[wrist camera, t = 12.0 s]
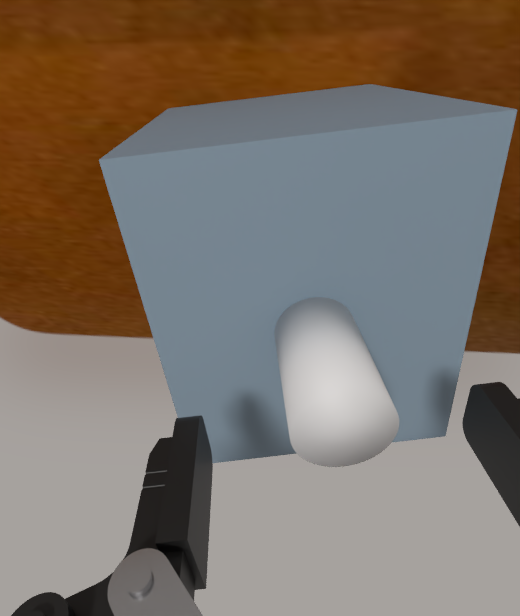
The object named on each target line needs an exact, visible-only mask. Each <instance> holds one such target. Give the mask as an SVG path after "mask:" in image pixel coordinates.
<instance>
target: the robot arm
mask: <svg viewBox="0 0 520 616" xmlns="http://www.w3.org/2000/svg"><path fill="white" fill-rule="evenodd" d="M463 430H464V434H465V437H466V439H467V441H468V443H469V444H470V446H471V448H472V449H473V451H474V453H475V454H476V456H477V458H478V459H479V461H480V462H481V464H482V466H483V467H484V469H485V471H486V472H487V474H488V476H489V477H490V479H491V480H492V482H493V484H494V485H495V487H496V488H497V490H498V492H499V493H500V495H501V497H502V498H503V500H504V502H505V503H506V505H507V507H508V508H509V510H510V511H511V513H512V515H513V516H514V518H515V520H516V521H517V523H518V525H519V526H520V399H517V398H516V397H515V396H514V395H513V393H512V392H511V391H510V390H509V388H508V387H507V386H506V385H505V384H503V383H501V382H495V383H487V384H478V385H473V386H472V387H471V389H470V393H469V397H468V401H467V405H466V409H465V413H464V417H463ZM211 487H212V452H211V447H210V443H209V439H208V435H207V431H206V427H205V424H204V420H203V417H202V415H199V416H191V417H182V418H177V419H176V421H175V426H174V432H173V437H170V438H161V439H159V441H158V442H157V444H156V445H155V447H154V448H153V450H152V451H151V453H150V455H149V459H148V464H147V468H146V475H145V477H144V482H143V490H142V491H141V496H140V500H139V505H138V510H137V514H136V519H135V523H134V528H133V533H132V537H131V542H130V546H129V549H128V552H127V554H126V556H125V558H124V559H123V560H122V561H121V563H120V564H119V565H118V566H117V568H116V569H115V571H114V572H113V573H112V574H111V575H110V576H108V577H107V578H106V579H104V580H103V581H101V582H99V583H97V584H96V585H94V586H91V587H89V588H87V589H85V590H83V591H81V592H79V593H77V594H74V595H72V596H70V597H68V598H66V599H64V598H63V597H61V596H60V595H59V594H56V593H52V592H48V593H42V594H39V595H36V596H34V597H32V598H31V599H29V600H27V601H26V602H25V603H24V604H22V605H21V606H20V607H19V608H18V609H17V610H16V611H15V612H14V613H13V614H12V615H11V616H202V614H201V612H200V611H199V609H198V607H197V606H196V604H195V603H194V591H195V590H197V589H205V588H206V578H207V560H208V559H207V558H208V541H209V523H210V505H211Z"/></svg>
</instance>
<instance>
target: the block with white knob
mask: <svg viewBox="0 0 520 616" xmlns="http://www.w3.org/2000/svg"><path fill="white" fill-rule="evenodd" d="M516 113H517V109H512V108H506V107H501V106H495V105H489V104H483V103H477V102H471V101H466V100H460V99H454V98H448V97H442V96H436V95H431V94H425V93H419V92H413V91H407V90H402V89H396V88H390V87H384V86H378V85H372V84H367V85H359V86H350V87H342V88H334V89H326V90H317V91H309V92H301V93H293V94H284V95H276V96H268V97H260V98H252V99H243V100H235V101H227V102H219V103H210V104H202V105H194V106H186V107H177V108H169V109H167V110H166V111H164V112H163V113H162V114H160V115H159V116H158V117H156V118H155V119H154V120H152V121H151V122H150V123H148V124H147V125H145V126H144V127H143V128H141V129H140V130H139V131H137V132H136V133H135V134H133V135H132V136H131V137H129V138H128V139H126V140H125V141H124V142H122V143H121V144H120V145H118V146H117V147H116V148H114V149H113V150H112V151H110V152H109V153H108V154H106V155H105V156H103V157H102V158H101V159H99V162H100V165H101V169H102V172H103V175H104V178H105V182H106V185H107V188H108V191H109V195H110V198H111V201H112V204H113V208H114V211H115V214H116V217H117V221H118V224H119V227H120V230H121V234H122V237H123V240H124V243H125V247H126V250H127V253H128V256H129V260H130V263H131V266H132V269H133V273H134V276H135V279H136V282H137V286H138V289H139V292H140V295H141V299H142V302H143V305H144V308H145V312H146V315H147V318H148V321H149V325H150V328H151V331H152V334H153V338H154V341H155V344H156V347H157V351H158V354H159V357H160V361H161V364H162V367H163V370H164V374H165V377H166V380H167V383H168V387H169V390H170V393H171V396H172V400H173V403H174V406H175V409H176V412H177V416H178V418H182V417H191V416H199V415H202V417H203V420H204V424H205V427H206V431H207V435H208V439H209V443H210V447H211V452H212V463H217V462H226V461H235V460H243V459H252V458H261V457H269V456H278V455H287V454H294V453H297V454H298V455H299V456H300V457H302V458H303V459H305V460H306V461H309V462H311V463H313V464H317V465H321V466H328V467H340V466H349V465H353V464H357V463H360V462H364V461H366V460H368V459H370V458H372V457H374V456H376V455H378V454H379V453H381V452H382V451H383V450H384V449H385V448H387V447H388V446H389V445H390V444H391V442H398V441H408V440H417V439H425V438H433V437H442V436H445V435H446V431H447V426H448V421H449V417H450V413H451V408H452V404H453V399H454V394H455V390H456V385H457V381H458V376H459V372H460V367H461V363H462V358H463V353H464V349H465V345H466V340H467V335H468V331H469V326H470V322H471V317H472V313H473V308H474V304H475V299H476V295H477V290H478V286H479V281H480V276H481V272H482V267H483V263H484V258H485V254H486V249H487V245H488V240H489V236H490V231H491V227H492V222H493V217H494V213H495V208H496V204H497V199H498V195H499V190H500V186H501V181H502V177H503V172H504V168H505V163H506V158H507V154H508V149H509V145H510V140H511V136H512V131H513V127H514V122H515V118H516Z"/></svg>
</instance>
